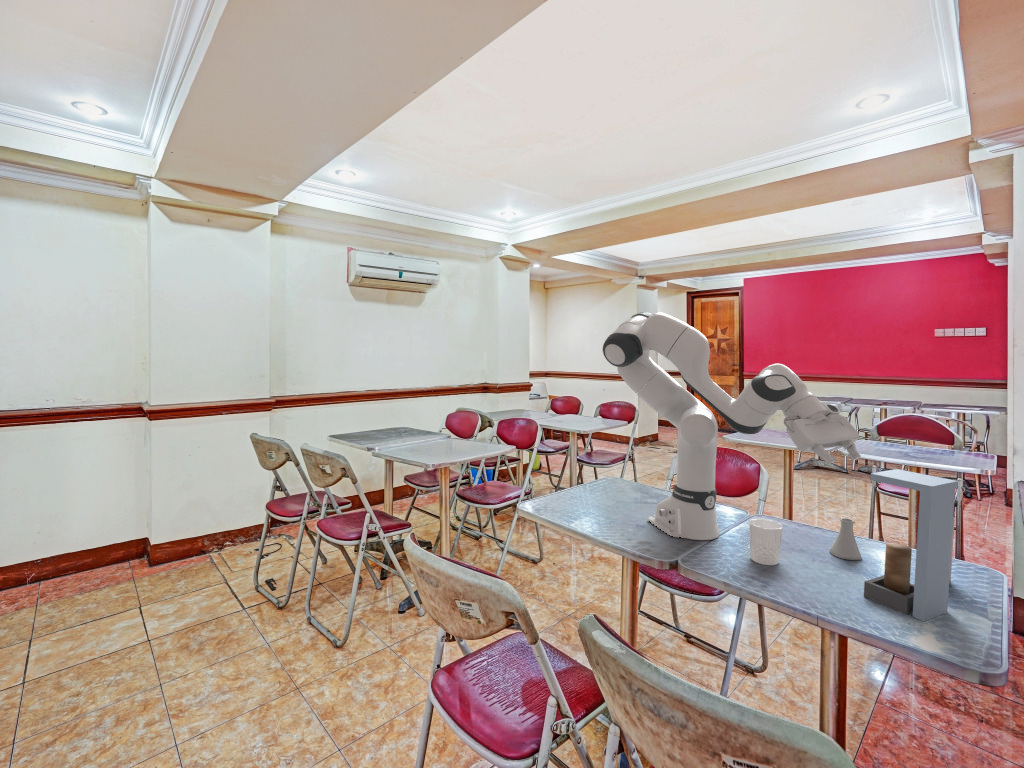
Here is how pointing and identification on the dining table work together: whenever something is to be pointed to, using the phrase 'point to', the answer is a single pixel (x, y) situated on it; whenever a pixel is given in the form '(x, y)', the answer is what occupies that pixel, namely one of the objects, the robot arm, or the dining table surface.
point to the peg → (897, 568)
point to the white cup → (765, 541)
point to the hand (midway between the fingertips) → (844, 460)
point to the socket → (889, 595)
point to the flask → (846, 542)
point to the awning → (929, 538)
